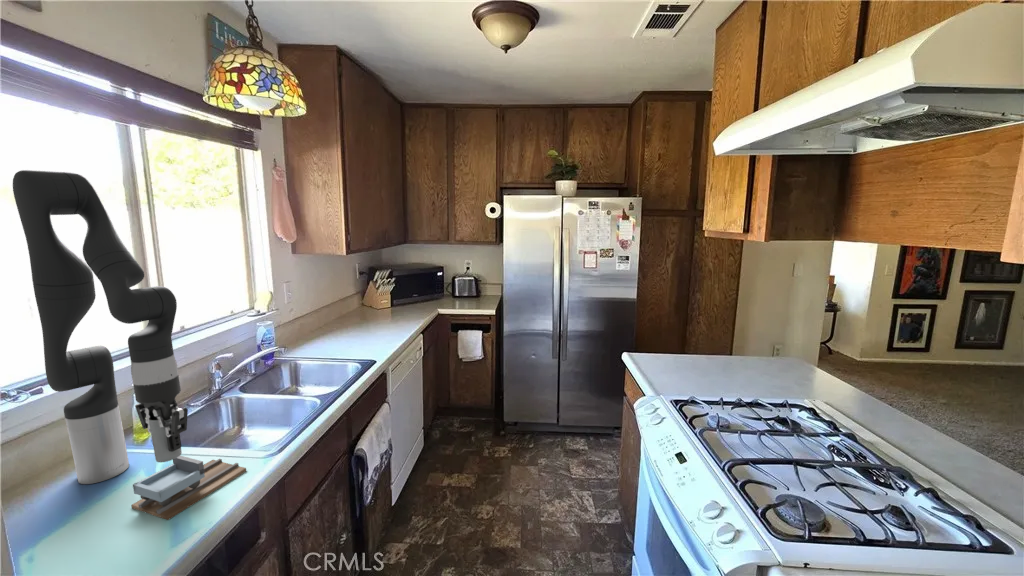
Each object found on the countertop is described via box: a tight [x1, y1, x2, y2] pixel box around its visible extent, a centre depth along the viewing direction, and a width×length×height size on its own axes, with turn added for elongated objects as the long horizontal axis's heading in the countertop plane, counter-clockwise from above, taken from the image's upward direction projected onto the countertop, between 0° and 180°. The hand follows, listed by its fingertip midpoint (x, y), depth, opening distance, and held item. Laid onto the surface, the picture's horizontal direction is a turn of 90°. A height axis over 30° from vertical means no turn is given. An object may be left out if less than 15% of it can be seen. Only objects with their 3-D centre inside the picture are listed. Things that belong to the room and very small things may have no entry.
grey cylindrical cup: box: [149, 417, 182, 463], centre depth 89 cm, size 4×4×10 cm
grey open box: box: [132, 455, 205, 506], centre depth 90 cm, size 9×9×6 cm
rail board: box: [131, 458, 247, 521], centre depth 95 cm, size 12×18×2 cm, turn 162°
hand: (167, 447), depth 90 cm, fingers closed on grey cylindrical cup, 4 cm apart
